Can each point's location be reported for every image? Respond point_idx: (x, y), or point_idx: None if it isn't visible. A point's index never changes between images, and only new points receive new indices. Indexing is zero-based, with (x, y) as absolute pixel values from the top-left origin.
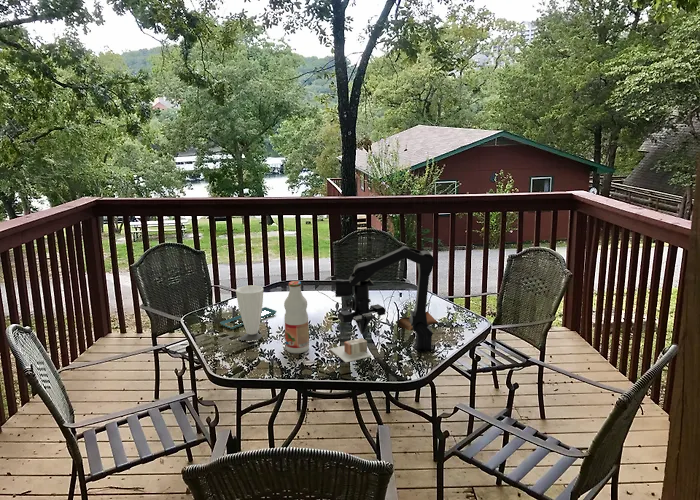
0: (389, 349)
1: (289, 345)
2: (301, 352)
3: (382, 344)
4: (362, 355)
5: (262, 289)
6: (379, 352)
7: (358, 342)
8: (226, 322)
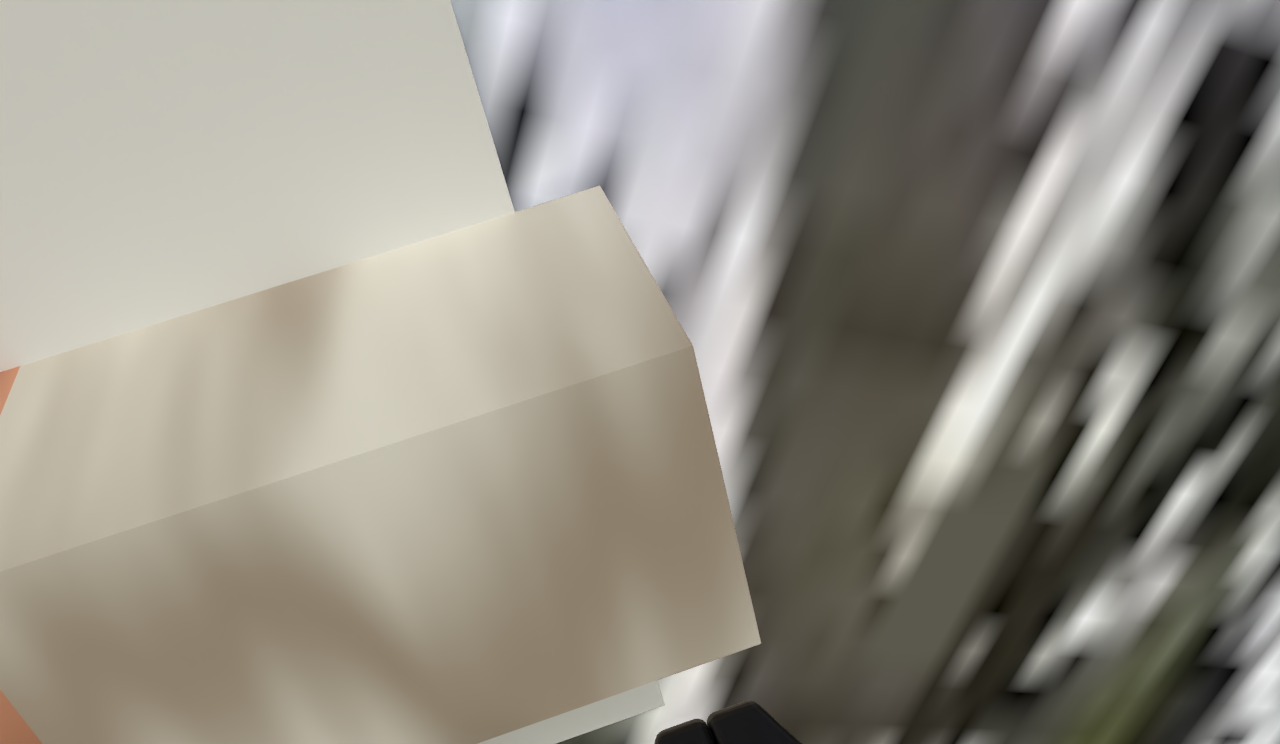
0: (1204, 403)
1: None
2: None
3: (1239, 68)
4: None
5: None
6: (923, 520)
7: (440, 715)
8: None
